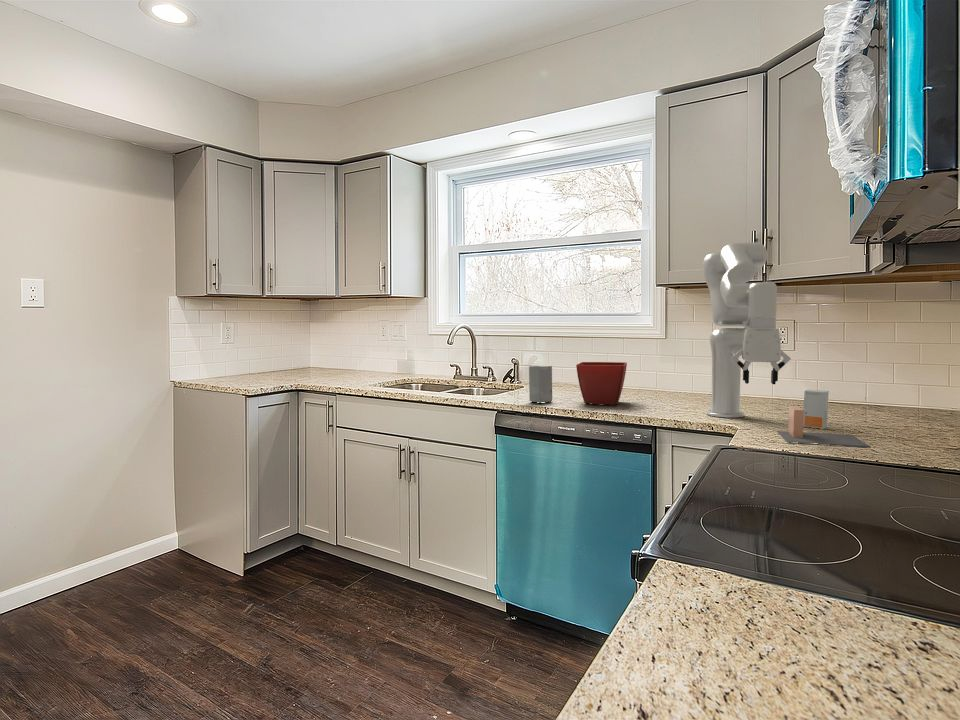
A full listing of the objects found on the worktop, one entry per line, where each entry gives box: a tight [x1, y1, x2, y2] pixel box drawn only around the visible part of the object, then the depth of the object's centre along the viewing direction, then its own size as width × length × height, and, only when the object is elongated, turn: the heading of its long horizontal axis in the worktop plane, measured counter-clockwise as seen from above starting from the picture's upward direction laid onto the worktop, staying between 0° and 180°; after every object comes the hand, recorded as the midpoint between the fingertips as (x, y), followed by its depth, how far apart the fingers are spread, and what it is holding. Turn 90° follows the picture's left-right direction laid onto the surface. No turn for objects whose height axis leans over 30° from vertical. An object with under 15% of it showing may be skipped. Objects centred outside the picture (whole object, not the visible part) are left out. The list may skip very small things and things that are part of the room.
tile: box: [787, 406, 804, 438], centre depth 167 cm, size 7×2×8 cm, turn 162°
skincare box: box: [803, 389, 830, 430], centre depth 181 cm, size 6×4×12 cm
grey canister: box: [528, 365, 553, 403], centre depth 239 cm, size 8×7×16 cm
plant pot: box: [575, 361, 628, 406], centre depth 236 cm, size 19×19×17 cm
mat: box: [776, 430, 871, 448], centre depth 163 cm, size 16×20×1 cm
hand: (759, 383), depth 170 cm, fingers open, 6 cm apart
